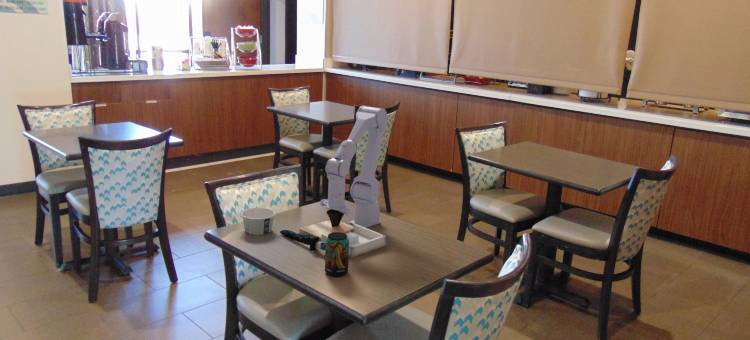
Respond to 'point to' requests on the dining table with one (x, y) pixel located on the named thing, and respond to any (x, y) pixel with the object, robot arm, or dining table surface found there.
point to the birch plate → (320, 229)
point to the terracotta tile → (340, 229)
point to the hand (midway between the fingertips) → (335, 229)
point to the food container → (258, 220)
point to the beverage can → (336, 254)
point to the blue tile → (352, 237)
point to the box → (363, 241)
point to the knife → (304, 239)
